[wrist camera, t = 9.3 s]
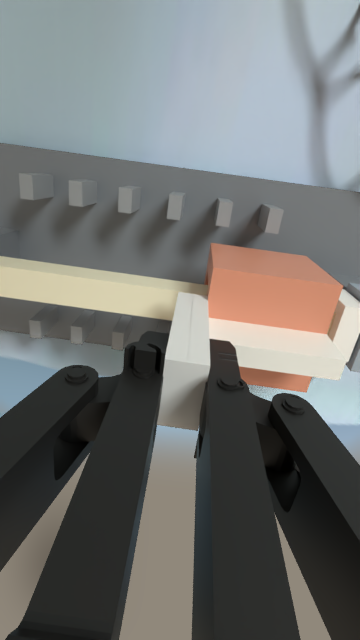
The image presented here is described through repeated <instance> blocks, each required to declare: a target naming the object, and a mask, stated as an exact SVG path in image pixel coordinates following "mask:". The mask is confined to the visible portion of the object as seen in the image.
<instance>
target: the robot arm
mask: <svg viewBox="0 0 360 640" xmlns="http://www.w3.org/2000/svg"><path fill="white" fill-rule="evenodd" d="M237 361H238V359H237V354H236V349H235V347H234V346H233V345H232V344H231V342H230V341H223V340H216V339H209V314H208V296H205V295H197V294H190V293H183V292H178V297H177V302H176V306H175V311H174V316H173V321H172V325H171V330H170V334H168V333H161V332H154V331H147V332H145V333H144V334H142V335H141V337H140V340H139V341H137V342H133V343H130V344H128V345H127V346H126V347H125V353H124V369H123V372H122V374H120V375H116V376H112V377H100V378H98V373H97V372H96V370H95V369H93V368H91V367H89V366H83V365H72V366H69V367H65V368H63V369H61V370H59V371H58V372H57V373H55V374H54V375H53V376H52V377H50V378H49V379H48V380H47V381H45V382H44V383H43V384H42V385H40V386H39V387H38V388H37V389H35V390H34V391H33V392H32V393H30V394H29V395H28V396H27V397H26V398H24V399H23V400H22V401H20V402H19V403H18V404H17V405H16V406H14V407H13V408H12V409H10V410H9V411H8V412H7V413H6V414H4V415H3V416H2V417H1V418H0V571H1V570H2V569H3V567H4V566H5V565H6V563H7V562H8V561H9V559H10V558H11V557H12V555H13V554H14V553H15V551H16V550H17V549H18V547H19V546H20V545H21V543H22V542H23V540H24V539H25V538H26V537H27V535H28V534H29V533H30V531H31V530H32V529H33V527H34V526H35V525H36V523H37V522H38V521H39V519H40V518H41V517H42V515H43V514H44V513H45V511H46V510H47V509H48V507H49V506H50V505H51V503H52V502H53V501H54V499H55V498H56V497H57V495H58V494H59V493H60V491H61V490H62V489H63V487H64V486H65V484H66V483H67V482H68V481H69V479H70V478H71V477H72V475H73V474H74V473H75V471H76V470H77V469H78V467H79V466H80V465H81V463H82V462H83V460H84V459H85V458H86V457H87V455H88V454H89V453H90V454H89V457H88V459H87V461H86V464H85V466H84V469H83V471H82V474H81V477H80V479H79V482H78V484H77V487H76V489H75V491H74V494H73V496H72V499H71V501H70V504H69V506H68V509H67V511H66V514H65V516H64V519H63V521H62V524H61V526H60V529H59V531H58V534H57V536H56V539H55V541H54V544H53V546H52V548H51V551H50V554H49V556H48V558H47V561H46V563H45V566H44V568H43V571H42V574H41V576H40V578H39V581H38V583H37V586H36V588H35V591H34V593H33V596H32V598H31V601H30V603H29V606H28V608H27V611H26V613H25V615H24V617H23V620H22V621H21V623H20V625H19V626H18V628H16V629H15V630H14V631H13V632H11V633H10V634H9V635H8V636H7V638H6V639H5V640H119V635H120V631H121V625H122V620H123V614H124V608H125V603H126V597H127V591H128V586H129V581H130V575H131V569H132V564H133V558H134V553H135V547H136V541H137V536H138V530H139V525H140V519H141V514H142V508H143V502H144V497H145V491H146V485H147V480H148V474H149V469H150V463H151V458H152V452H153V447H154V441H155V435H156V427H157V425H162V426H169V427H175V428H182V429H189V430H196V431H198V428H199V434H198V439H197V445H196V450H195V455H194V458H197V463H196V501H195V502H196V503H195V537H194V540H195V541H194V577H193V578H194V579H193V613H192V640H300V636H299V630H298V626H297V621H296V616H295V611H294V606H293V601H292V597H291V591H290V587H289V582H288V577H287V572H286V567H285V562H284V558H283V553H282V548H281V543H280V538H279V533H278V528H277V524H276V519H275V515H276V517H277V519H278V521H279V524H280V526H281V528H282V530H283V533H284V534H285V537H286V539H287V541H288V544H289V546H290V548H291V550H292V553H293V555H294V557H295V559H296V562H297V564H298V566H299V568H300V570H301V573H302V575H303V577H304V579H305V582H306V584H307V586H308V588H309V590H310V593H311V595H312V597H313V599H314V601H315V604H316V606H317V608H318V611H319V613H320V615H321V617H322V619H323V622H324V624H325V626H326V628H327V631H328V633H329V635H330V637H331V640H360V465H359V464H358V463H357V461H356V460H355V459H354V458H353V457H352V455H351V454H350V453H349V451H348V450H347V449H346V448H345V446H344V445H343V444H342V443H341V441H340V440H339V439H338V438H337V436H336V435H335V434H334V433H333V431H332V430H331V429H330V428H329V426H328V425H327V424H326V423H325V421H324V420H323V419H322V418H321V416H320V415H319V414H318V413H317V411H316V410H315V409H314V408H313V406H312V405H311V404H310V403H308V402H307V401H306V400H304V399H303V398H301V397H299V396H296V395H293V394H287V393H281V394H277V395H275V396H274V397H273V399H272V402H271V401H268V400H265V399H263V398H260V397H258V396H255V395H253V394H252V393H250V392H249V388H248V386H247V384H246V382H245V381H244V380H242V379H241V376H240V370H239V365H238V362H237ZM90 451H91V452H90ZM274 513H275V514H274Z"/></svg>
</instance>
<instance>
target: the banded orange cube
mask: <svg viewBox="0 0 360 640" xmlns="http://www.w3.org/2000/svg"><path fill="white" fill-rule="evenodd" d="M204 285H208V291H207V296H208V314H209V339H216V340H223V341H230V342H231V344H232V345H233V346H234V347H235V349H236V354H237V359H238V361H237V362H238V365H239V370H240V376H241V379H242V380H244V381H245V382H246V384H251V385H258V386H265V387H272V388H279V389H286V390H293V391H300V392H307V389H308V387H309V384H310V381H311V378H312V377H318V378H325V379H332V380H340V377H341V375H342V372H343V370H344V367H345V364H346V362H347V360H346V359H345V358H344V356H343V355H342V354H341V352H340V351H339V350H338V348H337V347H336V346H335V345H334V343H333V342H332V341H331V339H330V338H329V337H328V335H327V332H328V329H329V326H330V323H331V320H332V317H333V314H334V312H335V309H336V306H337V303H338V300H339V297H340V294H341V291H342V288H343V285H342V284H340V283H339V282H338V281H337V280H335V279H334V278H333V277H332V276H330V275H329V274H328V273H327V272H325V271H324V270H323V269H322V268H320V267H319V266H318V265H317V264H316V263H314V262H313V261H312V260H311V259H309V258H308V257H307V256H303V255H296V254H288V253H281V252H274V251H267V250H260V249H253V248H245V247H238V246H231V245H224V244H217V243H211V244H210V251H209V257H208V263H207V269H206V275H205V281H204Z"/></svg>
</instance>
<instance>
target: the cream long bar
mask: <svg viewBox="0 0 360 640" xmlns="http://www.w3.org/2000/svg"><path fill="white" fill-rule="evenodd" d="M207 291H208V285H203V284H196V283H189V282H182V281H175V280H168V279H160V278H153V277H146V276H139V275H132V274H125V273H118V272H111V271H103V270H96V269H89V268H82V267H75V266H68V265H61V264H54V263H46V262H39V261H32V260H25V259H18V258H11V257H4V256H0V296H1V297H8V298H15V299H22V300H29V301H36V302H43V303H50V304H57V305H65V306H72V307H79V308H86V309H93V310H100V311H107V312H114V313H121V314H128V315H135V316H142V317H149V318H157V319H164V320H171V321H173V316H174V311H175V306H176V302H177V297H178V292H183V293H190V294H197V295H205V296H207ZM327 335H328V337H329V338H330V339H331V341H332V342H333V343H334V345H335V346H336V347H337V348H338V350H339V351H340V352H341V354H342V355H343V356H344V358H345V359H346V360H347V362H346V365H347V367H348V368H349V369H350V371H354V372H360V284H355V283H348V286H347V289H346V290H345V289H342V291H341V294H340V297H339V300H338V303H337V306H336V309H335V312H334V314H333V317H332V320H331V323H330V326H329V329H328V332H327Z"/></svg>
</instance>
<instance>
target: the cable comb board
mask: <svg viewBox="0 0 360 640" xmlns="http://www.w3.org/2000/svg"><path fill="white" fill-rule="evenodd" d="M211 243H217V244H224V245H231V246H238V247H245V248H253V249H260V250H267V251H274V252H281V253H288V254H296V255H303V256H307V257H308V258H309V259H311V260H312V261H313V262H314V263H316V264H317V265H318V266H319V267H320V268H322V269H323V270H324V271H325V272H327V273H328V274H329V275H330V276H332V277H333V278H334V279H335V280H337V281H338V282H339V283H340V284H342V285H343V288H342V289H345V290H346V289H347V286H348V283H355V284H360V192H353V191H346V190H338V189H331V188H324V187H316V186H309V185H302V184H295V183H287V182H280V181H273V180H266V179H258V178H251V177H244V176H236V175H229V174H222V173H215V172H207V171H200V170H193V169H185V168H178V167H171V166H164V165H156V164H149V163H142V162H134V161H127V160H120V159H113V158H105V157H98V156H91V155H83V154H76V153H69V152H62V151H54V150H47V149H40V148H32V147H25V146H18V145H11V144H3V143H0V256H4V257H11V258H18V259H25V260H32V261H39V262H46V263H54V264H61V265H68V266H75V267H82V268H89V269H96V270H103V271H111V272H118V273H125V274H132V275H139V276H146V277H153V278H160V279H168V280H175V281H182V282H189V283H196V284H203V285H204V281H205V275H206V269H207V263H208V257H209V251H210V244H211ZM171 325H172V321H171V320H164V319H157V318H149V317H142V316H135V315H128V314H121V313H114V312H107V311H100V310H93V309H86V308H79V307H72V306H65V305H57V304H50V303H43V302H36V301H29V300H22V299H15V298H8V297H1V296H0V330H4V331H11V332H18V333H25V334H30V337H31V338H39V339H42V338H43V337H44V336H46V337H53V338H60V339H67V340H71V343H74V344H81V345H82V344H83V342H88V343H95V344H102V345H109V346H112V349H116V350H123V349H124V348H125V347H126V346H127V345H128V344H130V343H133V342H137V341H139V340H140V337H141V335H142V334H144V333H145V332H147V331H154V332H161V333H168V334H170V330H171Z"/></svg>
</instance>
